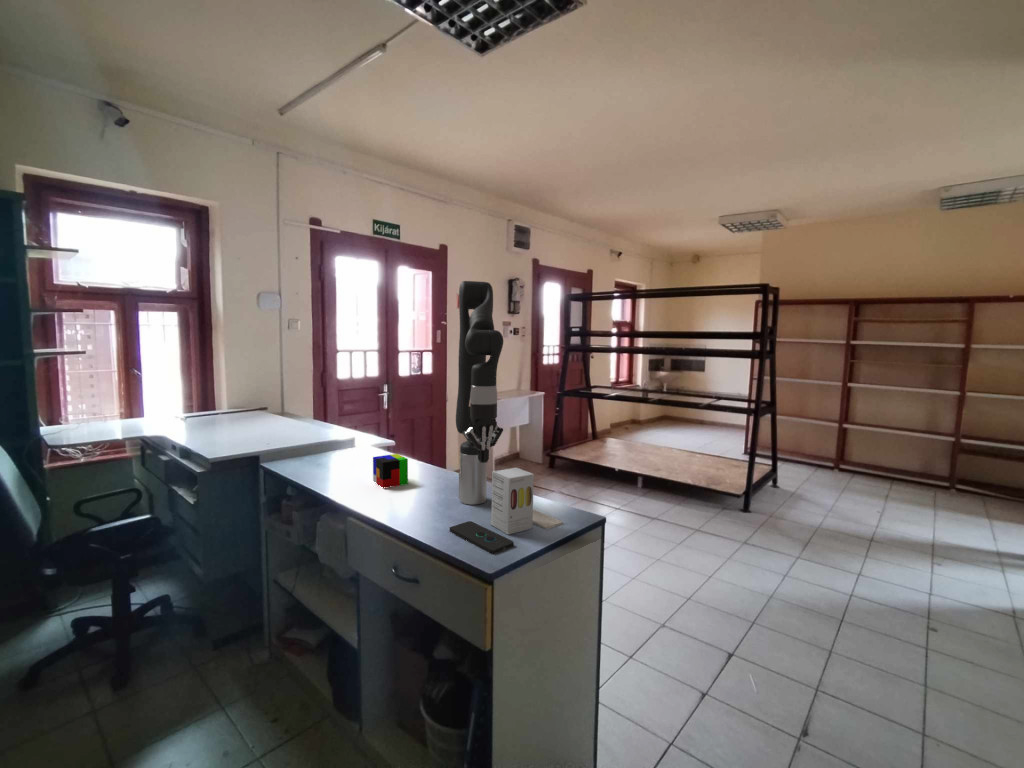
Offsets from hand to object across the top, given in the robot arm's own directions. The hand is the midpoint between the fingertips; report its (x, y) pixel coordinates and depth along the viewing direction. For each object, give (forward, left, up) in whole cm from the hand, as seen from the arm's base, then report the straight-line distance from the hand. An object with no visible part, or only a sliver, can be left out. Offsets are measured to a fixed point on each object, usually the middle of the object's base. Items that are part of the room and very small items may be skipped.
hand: (483, 462), depth 133 cm
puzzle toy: (-62, +1, -22) cm, 66 cm away
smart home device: (+1, -1, -22) cm, 22 cm away
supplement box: (0, +11, -22) cm, 24 cm away
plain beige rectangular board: (0, +21, -22) cm, 30 cm away
